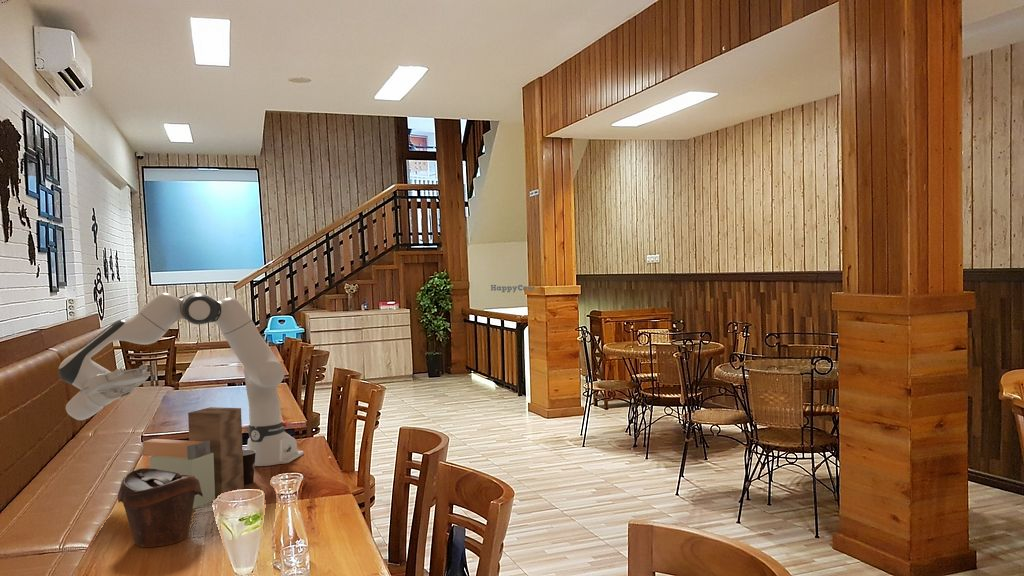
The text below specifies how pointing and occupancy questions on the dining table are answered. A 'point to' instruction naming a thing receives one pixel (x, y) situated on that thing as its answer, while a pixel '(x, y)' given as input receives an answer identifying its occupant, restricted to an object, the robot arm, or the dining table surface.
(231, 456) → the stand
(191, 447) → the orange brown flat block
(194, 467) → the grey green block
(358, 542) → the dining table surface
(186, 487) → the brown round container
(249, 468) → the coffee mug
